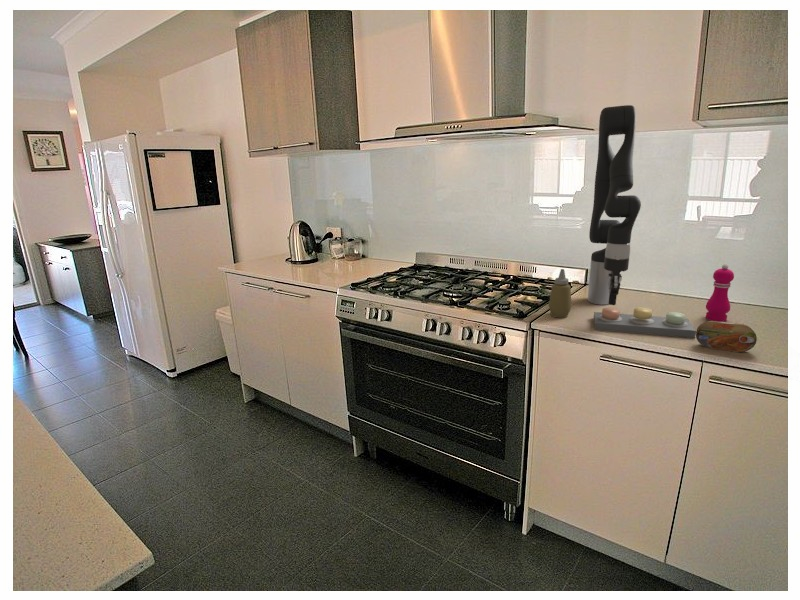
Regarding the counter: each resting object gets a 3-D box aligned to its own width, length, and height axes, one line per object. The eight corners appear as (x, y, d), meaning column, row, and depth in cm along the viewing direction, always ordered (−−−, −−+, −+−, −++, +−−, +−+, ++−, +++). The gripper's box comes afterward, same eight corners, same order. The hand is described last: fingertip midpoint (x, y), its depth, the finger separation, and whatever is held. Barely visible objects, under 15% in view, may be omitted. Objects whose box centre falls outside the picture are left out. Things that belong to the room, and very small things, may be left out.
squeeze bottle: (544, 316, 174) (546, 269, 168) (554, 310, 179) (557, 265, 174) (564, 320, 168) (568, 273, 163) (574, 315, 174) (578, 268, 168)
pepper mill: (732, 322, 161) (742, 266, 155) (709, 321, 162) (718, 266, 156) (722, 315, 167) (732, 262, 162) (700, 315, 169) (709, 261, 163)
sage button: (664, 318, 158) (665, 311, 158) (682, 319, 156) (683, 312, 156) (667, 323, 153) (668, 316, 153) (686, 324, 151) (687, 318, 151)
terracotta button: (601, 313, 165) (601, 307, 164) (618, 314, 163) (619, 308, 162) (602, 318, 160) (602, 312, 159) (619, 319, 158) (620, 313, 157)
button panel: (593, 318, 170) (594, 311, 169) (686, 325, 159) (687, 318, 159) (594, 329, 159) (595, 322, 158) (694, 337, 149) (696, 330, 148)
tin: (693, 346, 143) (698, 320, 140) (693, 342, 146) (697, 317, 143) (753, 354, 135) (759, 328, 133) (752, 350, 138) (758, 324, 136)
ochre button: (632, 313, 161) (633, 306, 161) (650, 314, 160) (651, 308, 159) (634, 318, 156) (635, 311, 156) (652, 319, 155) (653, 313, 154)
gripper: (603, 251, 162) (599, 298, 168) (606, 259, 150) (601, 309, 156) (627, 252, 160) (621, 299, 165) (631, 260, 148) (625, 311, 153)
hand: (611, 304), depth 160 cm, fingers closed
